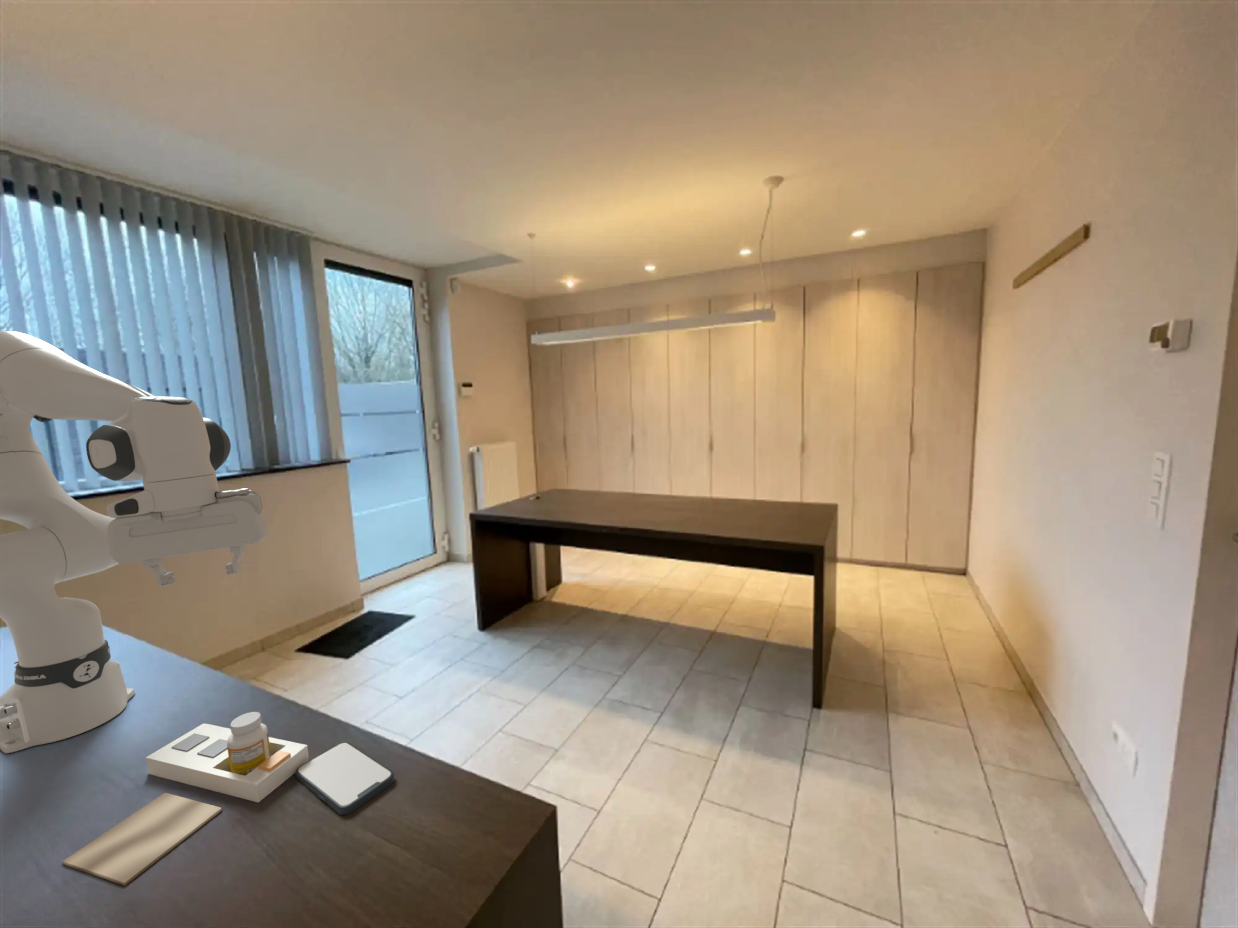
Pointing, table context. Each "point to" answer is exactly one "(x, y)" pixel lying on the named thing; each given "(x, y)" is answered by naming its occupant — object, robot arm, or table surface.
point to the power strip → (224, 763)
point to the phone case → (344, 777)
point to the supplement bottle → (247, 743)
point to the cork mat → (142, 838)
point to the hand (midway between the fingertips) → (201, 578)
